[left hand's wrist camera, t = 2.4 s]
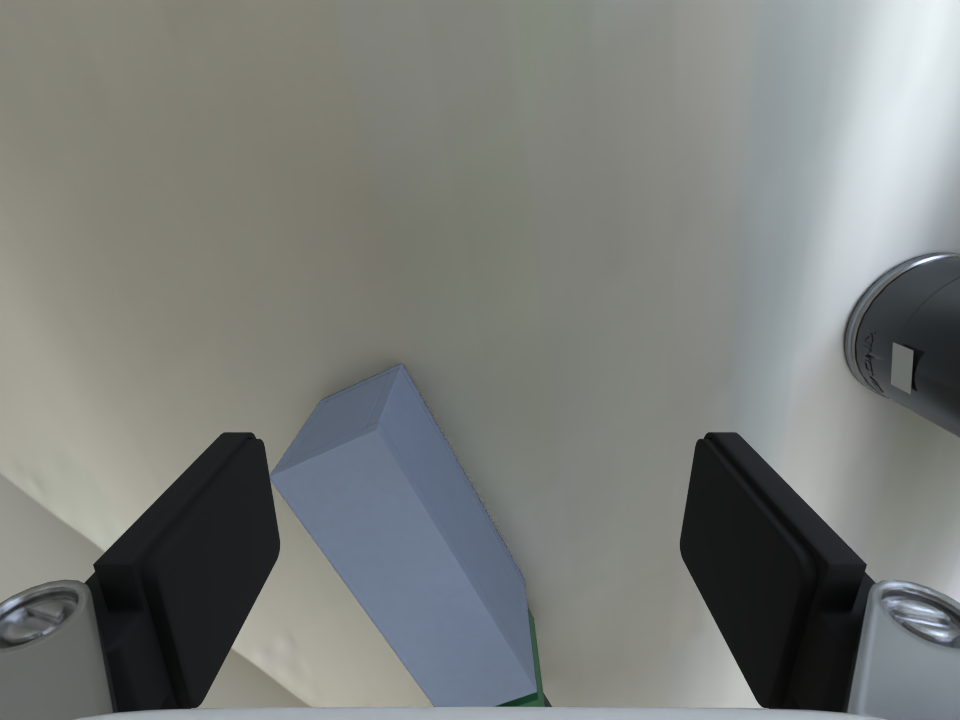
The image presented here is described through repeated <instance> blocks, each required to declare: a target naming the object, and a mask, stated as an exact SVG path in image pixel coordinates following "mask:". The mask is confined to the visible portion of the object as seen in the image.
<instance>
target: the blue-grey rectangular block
mask: <svg viewBox="0 0 960 720" xmlns="http://www.w3.org/2000/svg"><path fill="white" fill-rule="evenodd" d="M269 477H270V480H271V481H272V483H273V484H274V486H275V487H276V488H277V490H278V491H279V493H280V494H281V495H282V497H283V498H284V500H285V501H286V502H287V504H288V505H289V506H290V508H291V509H292V511H293V512H294V513H295V515H296V516H297V518H298V519H299V520H300V522H301V523H302V524H303V526H304V527H305V529H306V530H307V531H308V533H309V534H310V536H311V537H312V538H313V540H314V541H315V542H316V544H317V545H318V547H319V548H320V549H321V551H322V552H323V554H324V555H325V556H326V558H327V559H328V560H329V562H330V563H331V565H332V566H333V567H334V569H335V570H336V572H337V573H338V574H339V576H340V577H341V578H342V580H343V581H344V583H345V584H346V585H347V587H348V588H349V590H350V591H351V592H352V594H353V595H354V596H355V598H356V599H357V601H358V602H359V603H360V605H361V606H362V608H363V609H364V610H365V612H366V613H367V614H368V616H369V617H370V619H371V620H372V621H373V623H374V624H375V626H376V627H377V628H378V630H379V631H380V632H381V634H382V635H383V637H384V638H385V639H386V641H387V642H388V644H389V645H390V646H391V648H392V649H393V651H394V652H395V653H396V655H397V656H398V657H399V659H400V660H401V662H402V663H403V664H404V666H405V667H406V669H407V670H408V671H409V673H410V674H411V675H412V677H413V678H414V680H415V681H416V682H417V684H418V685H419V687H420V688H421V689H422V691H423V692H424V693H425V695H426V696H427V698H428V699H429V700H430V702H431V703H432V705H433V706H434V707H494V706H497V705H500V704H503V703H506V702H509V701H512V700H515V699H518V698H521V697H523V696H526V695H529V694H532V693H535V692H537V685H536V679H535V670H534V661H533V652H532V643H531V635H530V626H529V617H528V608H527V600H526V591H525V581H524V578H523V576H522V574H521V573H520V571H519V569H518V567H517V566H516V564H515V562H514V560H513V558H512V557H511V555H510V553H509V551H508V550H507V548H506V546H505V544H504V543H503V541H502V539H501V537H500V535H499V534H498V532H497V530H496V528H495V527H494V525H493V523H492V521H491V520H490V518H489V516H488V514H487V512H486V511H485V509H484V507H483V505H482V504H481V502H480V500H479V498H478V497H477V495H476V493H475V491H474V489H473V488H472V486H471V484H470V482H469V481H468V479H467V477H466V475H465V474H464V472H463V470H462V468H461V466H460V465H459V463H458V461H457V459H456V458H455V456H454V454H453V452H452V451H451V449H450V447H449V445H448V443H447V442H446V440H445V438H444V436H443V435H442V433H441V431H440V429H439V428H438V426H437V424H436V422H435V420H434V419H433V417H432V415H431V413H430V412H429V410H428V408H427V406H426V405H425V403H424V401H423V399H422V397H421V396H420V394H419V392H418V390H417V389H416V387H415V385H414V383H413V382H412V380H411V378H410V376H409V374H408V373H407V371H406V369H405V367H404V366H403V364H399V365H397V366H395V367H393V368H390V369H388V370H386V371H384V372H382V373H379V374H377V375H375V376H373V377H371V378H369V379H366V380H364V381H362V382H360V383H358V384H355V385H353V386H351V387H349V388H347V389H345V390H342V391H340V392H338V393H336V394H334V395H331V396H329V397H327V398H325V399H323V400H321V401H320V402H319V403H318V405H317V407H316V408H315V409H314V411H313V412H312V414H311V415H310V417H309V418H308V420H307V421H306V423H305V424H304V426H303V427H302V429H301V430H300V432H299V433H298V435H297V436H296V438H295V439H294V441H293V442H292V444H291V445H290V446H289V448H288V449H287V451H286V452H285V454H284V455H283V457H282V458H281V460H280V461H279V463H278V464H277V466H276V467H275V468H274V470H273V471H272V473H271V474H270V476H269Z"/></svg>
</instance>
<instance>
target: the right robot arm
mask: <svg viewBox="0 0 960 720" xmlns="http://www.w3.org/2000/svg"><path fill="white" fill-rule="evenodd" d="M845 352H846V358H847V362H848V365H849V367H850V369H851V371H852V373H853V374H854V376H855V377H856V378H857V379H858V381H859V382H861V383H862V384H863V385H864V386H865V387H867V388H868V389H870V390H872V391H874V392H875V393H877V394H879V395H881V396H883V397H886V398H889V399H892V400H893V401H895V402H897V403H899V404H901V405H902V406H904V407H906V408H908V409H910V410H911V411H913V412H915V413H916V414H918V415H920V416H922V417H923V418H925V419H927V420H929V421H931V422H932V423H934V424H936V425H938V426H940V427H941V428H943V429H945V430H947V431H949V432H950V433H952V434H954V435H956V436H958V437H959V438H960V254H957V253H947V252H946V253H933V254H928V255H923V256H920V257H917V258H914V259H911V260H909V261H907V262H905V263H903V264H901V265H899V266H897V267H895V268H894V269H892V270H891V271H889V272H888V273H886V274H885V275H884V276H882V277H881V278H880V279H879V280H878V281H877V282H876V283H875V284H874V285H872V286H871V288H870V289H869V290H868V291H867V292H866V293H865V295H864V296H863V297H862V299H861V300H860V302H859V303H858V305H857V306H856V308H855V310H854V312H853V314H852V316H851V319H850V321H849V324H848V327H847V332H846V338H845Z"/></svg>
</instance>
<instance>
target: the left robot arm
mask: <svg viewBox="0 0 960 720" xmlns="http://www.w3.org/2000/svg"><path fill="white" fill-rule="evenodd" d="M279 551H280V538H279V532H278V526H277V520H276V513H275V507H274V501H273V495H272V489H271V483H270V477H269V471H268V464H267V458H266V452H265V446H264V443H263V441H262V440H261V439H256V437H255V435H254V434H253V433H252V432H226V433H223V434H221V435H220V436H219V437H218V438H217V439H216V440H215V441H214V442H213V443H212V444H211V445H210V446H209V447H208V448H207V449H206V450H205V451H204V452H203V453H202V454H201V455H200V456H199V457H198V458H197V459H196V460H195V461H194V463H193V464H192V465H191V466H190V467H189V468H188V469H187V470H186V471H185V472H184V473H183V474H182V475H181V476H180V477H179V478H178V479H177V480H176V481H175V482H174V483H173V484H172V485H171V486H170V487H169V488H168V489H167V490H166V491H165V492H164V493H163V494H162V495H161V496H160V497H159V498H158V499H157V500H156V501H155V502H154V503H153V504H152V505H151V506H150V507H149V508H148V509H147V510H146V511H145V512H144V513H143V514H142V515H141V516H140V517H139V519H138V520H137V521H136V522H135V523H134V524H133V525H132V526H131V527H130V528H129V529H128V530H127V531H126V532H125V533H124V534H123V535H122V536H121V537H120V538H119V539H118V540H117V541H116V542H115V543H114V544H113V545H112V546H111V547H110V548H109V549H108V550H107V551H106V552H105V553H104V554H103V555H102V556H101V557H100V558H99V559H98V560H97V561H96V562H95V563H94V564H93V566H94V569H95V573H94V574H93V575H92V576H91V577H90V578H89V579H88V580H87V581H86V582H85V583H82V582H80V581H77V580H59V581H53V582H47V583H44V584H41V585H38V586H34V587H31V588H29V589H27V590H24V591H22V592H20V593H18V594H16V595H13V596H11V597H10V598H8V599H7V600H5V601H3V602H2V603H0V720H960V603H958V602H957V601H955V600H953V599H952V598H950V597H949V596H947V595H944V594H942V593H940V592H938V591H936V590H933V589H931V588H929V587H926V586H922V585H919V584H916V583H913V582H907V581H901V580H883V581H880V582H878V583H875V582H874V581H873V580H872V579H871V578H870V577H869V576H868V575H867V574H866V573H865V569H866V566H867V564H866V563H865V562H864V561H863V560H862V559H861V558H860V557H859V556H858V555H857V554H856V553H855V552H854V551H853V550H852V549H851V548H850V547H849V546H848V545H847V544H846V543H845V542H844V541H843V540H842V539H841V538H840V537H839V536H838V535H837V534H836V533H835V532H834V531H833V530H832V529H831V528H830V527H829V526H828V525H827V524H826V523H825V522H824V521H823V520H822V519H821V517H820V516H819V515H818V514H817V513H816V512H815V511H814V510H813V509H812V508H811V507H810V506H809V505H808V504H807V503H806V502H805V501H804V500H803V499H802V498H801V497H800V496H799V495H798V494H797V493H796V492H795V491H794V490H793V489H792V488H791V487H790V486H789V485H788V484H787V483H786V482H785V481H784V480H783V479H782V478H781V477H780V476H779V475H778V474H777V473H776V472H775V471H774V470H773V469H772V468H771V467H770V466H769V465H768V464H767V463H766V461H765V460H764V459H763V458H762V457H761V456H760V455H759V454H758V453H757V452H756V451H755V450H754V449H753V448H752V447H751V446H750V445H749V444H748V443H747V442H746V441H745V440H744V439H743V438H742V437H741V436H740V435H739V434H737V433H734V432H708V433H707V434H706V435H705V437H704V439H699V440H698V441H697V443H696V446H695V452H694V458H693V464H692V471H691V477H690V483H689V489H688V495H687V501H686V507H685V513H684V520H683V526H682V532H681V538H680V551H681V555H682V558H683V561H684V562H685V564H686V566H687V568H688V570H689V572H690V574H691V576H692V578H693V580H694V582H695V584H696V585H697V587H698V589H699V591H700V593H701V595H702V597H703V599H704V601H705V603H706V605H707V606H708V608H709V610H710V612H711V614H712V616H713V618H714V620H715V622H716V624H717V626H718V628H719V629H720V631H721V633H722V635H723V637H724V639H725V641H726V643H727V645H728V647H729V649H730V651H731V652H732V654H733V656H734V658H735V660H736V662H737V664H738V666H739V668H740V670H741V672H742V674H743V675H744V677H745V679H746V681H747V683H748V685H749V687H750V689H751V691H752V693H753V695H754V697H755V698H756V700H757V702H758V703H759V704H760V705H761V706H762V707H764V708H769V709H755V708H632V707H328V708H205V709H191V708H196V707H198V706H199V705H200V704H201V703H202V702H203V700H204V698H205V697H206V695H207V693H208V691H209V689H210V687H211V685H212V683H213V681H214V679H215V677H216V675H217V674H218V672H219V670H220V668H221V666H222V664H223V662H224V660H225V658H226V656H227V654H228V652H229V651H230V649H231V647H232V645H233V643H234V641H235V639H236V637H237V635H238V633H239V631H240V629H241V628H242V626H243V624H244V622H245V620H246V618H247V616H248V614H249V612H250V610H251V608H252V606H253V605H254V603H255V601H256V599H257V597H258V595H259V593H260V591H261V589H262V587H263V585H264V584H265V582H266V580H267V578H268V576H269V574H270V572H271V570H272V568H273V566H274V564H275V562H276V561H277V558H278V555H279Z"/></svg>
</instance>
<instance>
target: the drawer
mask: <svg viewBox="0 0 960 720" xmlns="http://www.w3.org/2000/svg"><path fill="white" fill-rule="evenodd" d="M528 617H529V626H530V635H531V643H532V652H533V661H534V670H535V679H536V685H537V692H535V693H532V694H529V695H526V696H523V697H521V698H518V699H515V700H512V701H509V702H506V703H503V704H500V705H497V706H494V707H552V706H551V704H550V703H549V701H548V699H547V698H546V696H545V694H544V693H543V688H542V680H541V672H540V664H539V656H538V648H537V640H536V632H535V624H534V618H533V617H532V615H531V613H530V611H529V610H528Z"/></svg>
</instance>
